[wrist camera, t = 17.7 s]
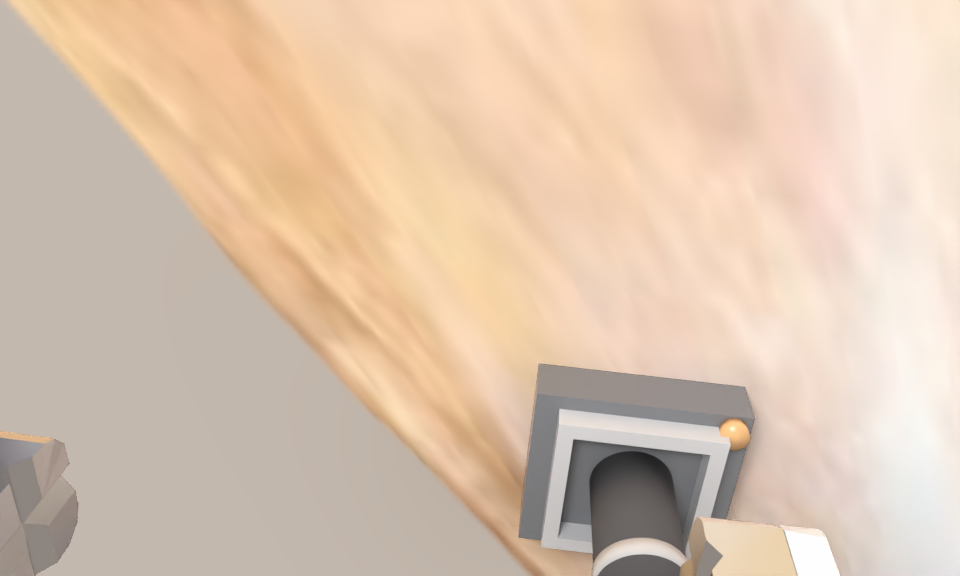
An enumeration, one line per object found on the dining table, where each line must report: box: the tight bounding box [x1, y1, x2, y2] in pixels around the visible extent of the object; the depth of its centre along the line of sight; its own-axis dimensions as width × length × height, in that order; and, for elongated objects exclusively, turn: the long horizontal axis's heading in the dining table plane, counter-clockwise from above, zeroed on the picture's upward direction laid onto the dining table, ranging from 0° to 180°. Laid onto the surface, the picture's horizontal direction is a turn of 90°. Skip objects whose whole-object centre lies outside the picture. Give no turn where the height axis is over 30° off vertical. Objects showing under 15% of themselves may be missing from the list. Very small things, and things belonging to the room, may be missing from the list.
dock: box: [519, 364, 755, 561], centre depth 49 cm, size 12×11×4 cm
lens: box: [589, 451, 687, 576], centre depth 44 cm, size 5×5×10 cm
